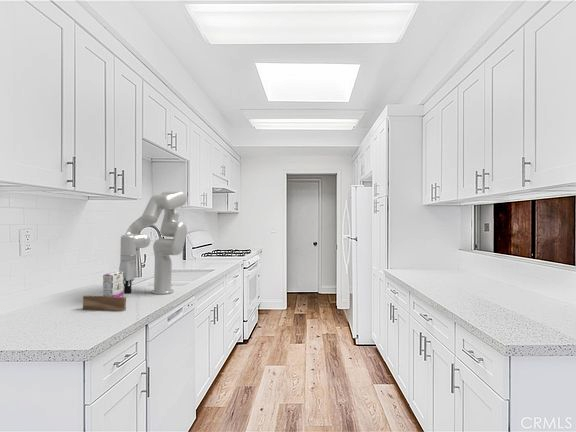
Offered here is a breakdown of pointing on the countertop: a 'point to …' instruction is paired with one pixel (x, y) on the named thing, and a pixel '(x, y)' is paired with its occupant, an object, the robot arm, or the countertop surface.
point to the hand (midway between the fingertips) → (127, 293)
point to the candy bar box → (113, 284)
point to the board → (104, 303)
